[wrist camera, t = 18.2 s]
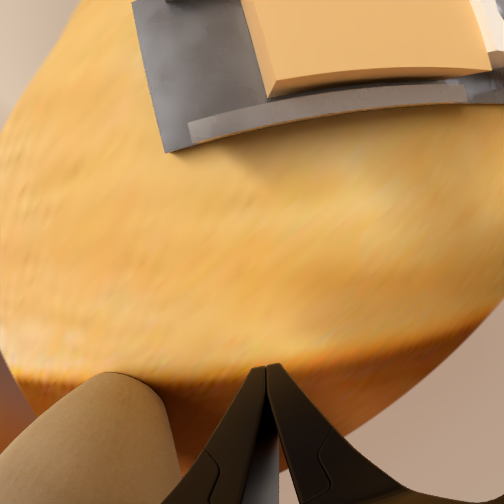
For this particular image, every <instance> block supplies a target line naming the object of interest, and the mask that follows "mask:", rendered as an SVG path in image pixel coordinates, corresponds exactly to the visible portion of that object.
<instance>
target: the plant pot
mask: <svg viewBox="0 0 504 504" xmlns="http://www.w3.org/2000/svg"><path fill="white" fill-rule="evenodd" d="M181 479H182V478H181V473H180V468H179V463H178V457H177V453H176V449H175V444H174V440H173V436H172V432H171V427H170V424H169V420H168V416H167V412H166V409H165V405H164V403H163V401H162V400H161V398H160V397H159V396H158V395H157V394H156V392H154V391H153V390H152V389H151V388H150V387H149V386H147V385H146V384H144V383H142V382H141V381H139V380H137V379H134V378H132V377H129V376H126V375H123V374H118V373H102V374H98V375H96V376H94V377H92V378H91V379H89V380H87V381H86V382H84V383H83V384H81V385H80V386H78V387H77V388H75V389H74V390H73V391H71V392H70V393H68V394H67V395H66V396H64V397H63V398H62V399H60V400H59V401H58V402H56V403H55V404H54V405H53V406H51V407H50V408H49V409H48V410H47V411H45V412H44V413H43V414H42V415H41V416H39V417H38V418H37V419H36V420H35V421H34V422H33V423H32V424H31V425H29V426H28V427H27V428H26V429H25V430H24V431H23V432H22V433H21V434H20V435H19V436H18V437H17V438H16V439H15V440H14V441H13V442H12V443H11V444H10V445H9V446H8V447H7V448H6V449H5V450H4V451H3V453H2V454H1V455H0V504H160V503H161V502H162V501H163V500H164V499H165V498H166V497H167V496H168V495H169V493H170V492H171V491H172V490H173V489H174V488H175V487H176V485H177V484H178V483H179V482H180V481H181Z"/></svg>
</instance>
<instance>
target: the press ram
mask: <svg viewBox="0 0 504 504" xmlns="http://www.w3.org/2000/svg"><path fill="white" fill-rule="evenodd" d="M240 1H241V5H242V8H243V11H244V15H245V18H246V21H247V25H248V28H249V32H250V35H251V39H252V43H253V46H254V50H255V53H256V57H257V61H258V64H259V68H260V72H261V76H262V80H263V83H264V87H265V91H266V95H267V99H268V98H273V97H278V96H283V95H288V94H294V93H300V92H306V91H313V90H319V89H327V88H334V87H342V86H351V85H361V84H372V83H385V82H402V81H441V80H446V79H450V78H455V77H460V76H465V75H470V74H475V73H481V72H487V71H492V68H491V64H490V60H489V57H488V53H487V50H486V46H485V43H484V40H483V36H482V33H481V30H480V27H479V24H478V22H477V19H476V16H475V13H474V11H473V8H472V6H471V3H470V1H469V0H240Z"/></svg>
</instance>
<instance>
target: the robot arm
mask: <svg viewBox="0 0 504 504" xmlns="http://www.w3.org/2000/svg"><path fill="white" fill-rule="evenodd" d="M279 438H280V441H281V445H282V448H283V452H284V455H285V458H286V462H287V465H288V468H289V472H290V475H291V478H292V481H293V485H294V488H295V491H296V494H297V497H298V501H299V504H504V495H502V496H500V497H498V498H496V499H494V500H490V501H487V502H480V503H474V502H465V501H459V500H453V499H448V498H442V497H437V496H433V495H428V494H423V493H419V492H416V491H413V490H410V489H409V488H407V487H405V486H403V485H401V484H400V483H399V482H397V481H395V480H394V479H393V478H392V477H390V476H389V475H388V474H386V473H385V472H383V471H382V470H381V469H379V468H378V467H377V466H376V465H374V464H373V463H372V462H370V461H369V460H368V459H367V458H365V457H364V456H363V455H361V453H359V452H358V451H357V450H356V449H355V448H353V446H352V445H351V444H350V443H349V442H348V441H347V440H346V439H345V438H344V437H343V436H342V435H341V434H340V433H339V432H338V431H337V429H336V428H334V426H333V425H332V424H331V423H330V422H329V420H328V419H327V418H326V417H325V416H324V415H323V414H322V412H321V411H320V410H319V409H318V408H317V407H316V405H315V404H314V403H313V402H312V401H311V400H310V398H309V397H308V396H307V395H306V394H305V393H304V391H303V390H302V389H301V388H300V387H299V385H298V384H297V383H296V382H295V381H294V379H293V378H292V377H291V376H290V375H289V373H288V372H287V371H286V370H285V369H284V367H283V366H282V365H281V364H280V363H275V364H270V365H267V366H266V367H265V366H260V367H255V368H252V369H251V370H250V372H249V374H248V375H247V377H246V379H245V381H244V382H243V384H242V386H241V387H240V389H239V391H238V393H237V394H236V396H235V398H234V399H233V401H232V403H231V404H230V406H229V408H228V409H227V411H226V413H225V414H224V416H223V418H222V419H221V421H220V423H219V424H218V426H217V427H216V429H215V431H214V432H213V434H212V436H211V437H210V439H209V440H208V442H207V444H206V445H205V447H204V449H203V450H202V451H201V453H200V454H199V456H198V458H197V459H196V461H195V462H194V463H193V465H192V466H191V468H190V469H189V471H188V472H187V473H186V474H185V476H184V477H183V478H182V479H181V481H180V482H179V483H178V484H177V485H176V487H175V488H174V489H173V490H172V491H171V492H170V493H169V495H168V496H167V497H166V498H165V499H164V500H163V501H162V502H161V503H160V504H279Z"/></svg>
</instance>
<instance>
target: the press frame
mask: <svg viewBox="0 0 504 504" xmlns="http://www.w3.org/2000/svg"><path fill="white" fill-rule="evenodd" d="M132 8H133V13H134V19H135V24H136V29H137V34H138V39H139V44H140V49H141V54H142V59H143V63H144V68H145V72H146V77H147V81H148V86H149V90H150V94H151V99H152V103H153V107H154V111H155V115H156V119H157V123H158V127H159V131H160V135H161V139H162V143H163V147H164V151H165V153H170V152H174V151H177V150H180V149H184V148H187V147H191V146H194V145H198V144H201V143H205V142H209V141H213V140H216V139H220V138H224V137H228V136H232V135H236V134H240V133H245V132H249V131H253V130H258V129H262V128H267V127H272V126H277V125H282V124H287V123H292V122H297V121H302V120H308V119H314V118H320V117H326V116H332V115H339V114H346V113H353V112H361V111H369V110H378V109H387V108H397V107H409V106H423V105H441V104H504V67H500V68H494V69H492V71H487V72H481V73H475V74H470V75H465V76H460V77H455V78H450V79H446V80H441V81H402V82H385V83H372V84H361V85H351V86H342V87H334V88H327V89H319V90H313V91H306V92H300V93H294V94H288V95H283V96H278V97H273V98H268V99H267V95H266V91H265V87H264V83H263V80H262V76H261V72H260V68H259V64H258V61H257V57H256V53H255V50H254V46H253V43H252V39H251V35H250V32H249V28H248V25H247V21H246V18H245V15H244V11H243V8H242V5H241V1H240V0H137V1H134V2H132Z"/></svg>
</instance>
